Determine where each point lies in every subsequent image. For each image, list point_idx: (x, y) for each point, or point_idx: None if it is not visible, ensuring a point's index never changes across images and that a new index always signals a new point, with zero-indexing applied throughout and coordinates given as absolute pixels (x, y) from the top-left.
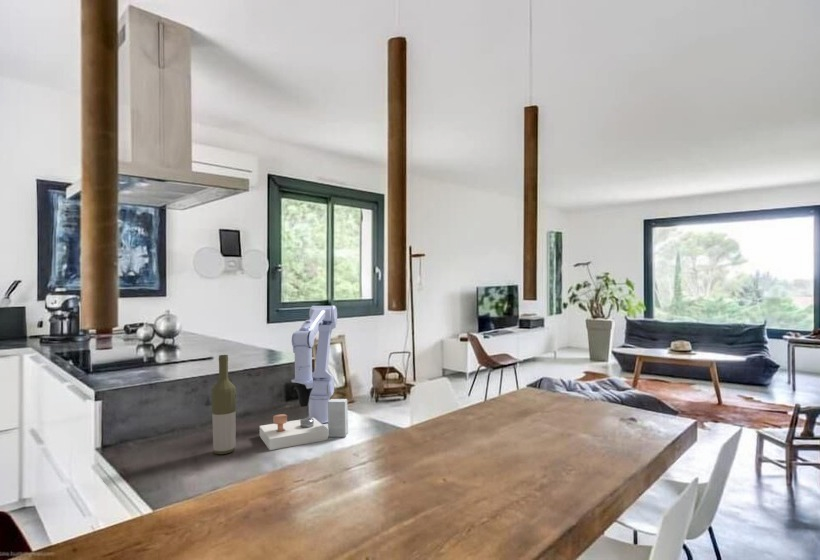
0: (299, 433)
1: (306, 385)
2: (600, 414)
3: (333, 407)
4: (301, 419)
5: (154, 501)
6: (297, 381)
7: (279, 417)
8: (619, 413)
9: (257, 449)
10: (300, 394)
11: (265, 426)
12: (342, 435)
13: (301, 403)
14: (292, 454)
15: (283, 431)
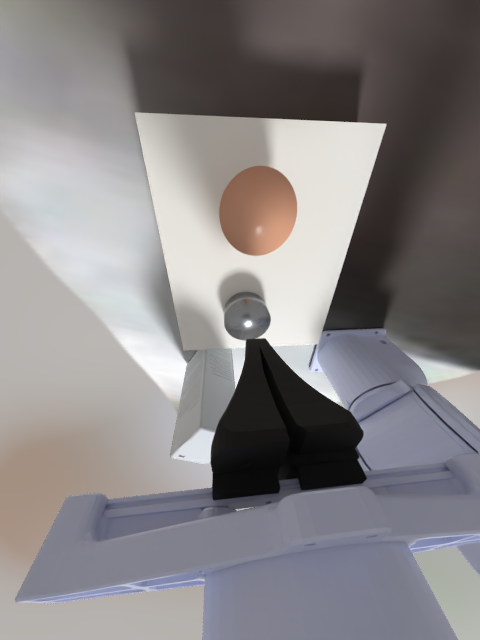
0: (171, 270)
1: (60, 540)
2: None
3: (190, 417)
4: (266, 308)
5: None
6: (244, 541)
7: (232, 203)
8: None
9: (185, 66)
10: (235, 392)
11: (351, 155)
12: (189, 363)
13: (246, 350)
14: (80, 209)
15: None
